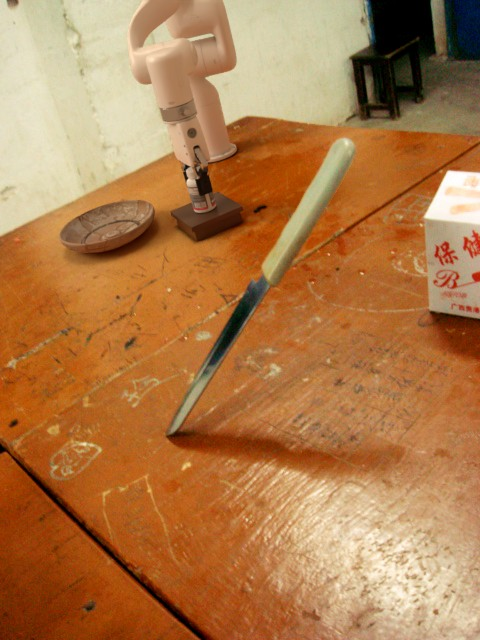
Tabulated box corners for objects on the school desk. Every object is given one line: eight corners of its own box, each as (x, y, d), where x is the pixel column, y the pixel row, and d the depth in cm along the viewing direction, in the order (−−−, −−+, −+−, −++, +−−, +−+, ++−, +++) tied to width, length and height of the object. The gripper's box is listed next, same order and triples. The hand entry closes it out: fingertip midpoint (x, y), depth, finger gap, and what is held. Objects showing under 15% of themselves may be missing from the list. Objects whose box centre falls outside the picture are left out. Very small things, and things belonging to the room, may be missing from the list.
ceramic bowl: (175, 232, 150) (169, 213, 147) (83, 274, 142) (75, 255, 139) (138, 208, 168) (132, 190, 165) (54, 244, 160) (46, 226, 157)
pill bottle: (207, 201, 150) (197, 162, 145) (221, 205, 146) (211, 165, 141) (189, 211, 148) (178, 171, 143) (203, 215, 144) (191, 175, 139)
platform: (174, 226, 153) (169, 211, 150) (221, 206, 156) (218, 191, 154) (195, 243, 142) (191, 227, 140) (246, 221, 146) (242, 205, 144)
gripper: (211, 111, 129) (231, 193, 139) (179, 99, 143) (199, 175, 152) (177, 123, 127) (200, 206, 137) (148, 110, 141) (171, 186, 150)
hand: (199, 189), depth 144 cm, fingers open, 6 cm apart
